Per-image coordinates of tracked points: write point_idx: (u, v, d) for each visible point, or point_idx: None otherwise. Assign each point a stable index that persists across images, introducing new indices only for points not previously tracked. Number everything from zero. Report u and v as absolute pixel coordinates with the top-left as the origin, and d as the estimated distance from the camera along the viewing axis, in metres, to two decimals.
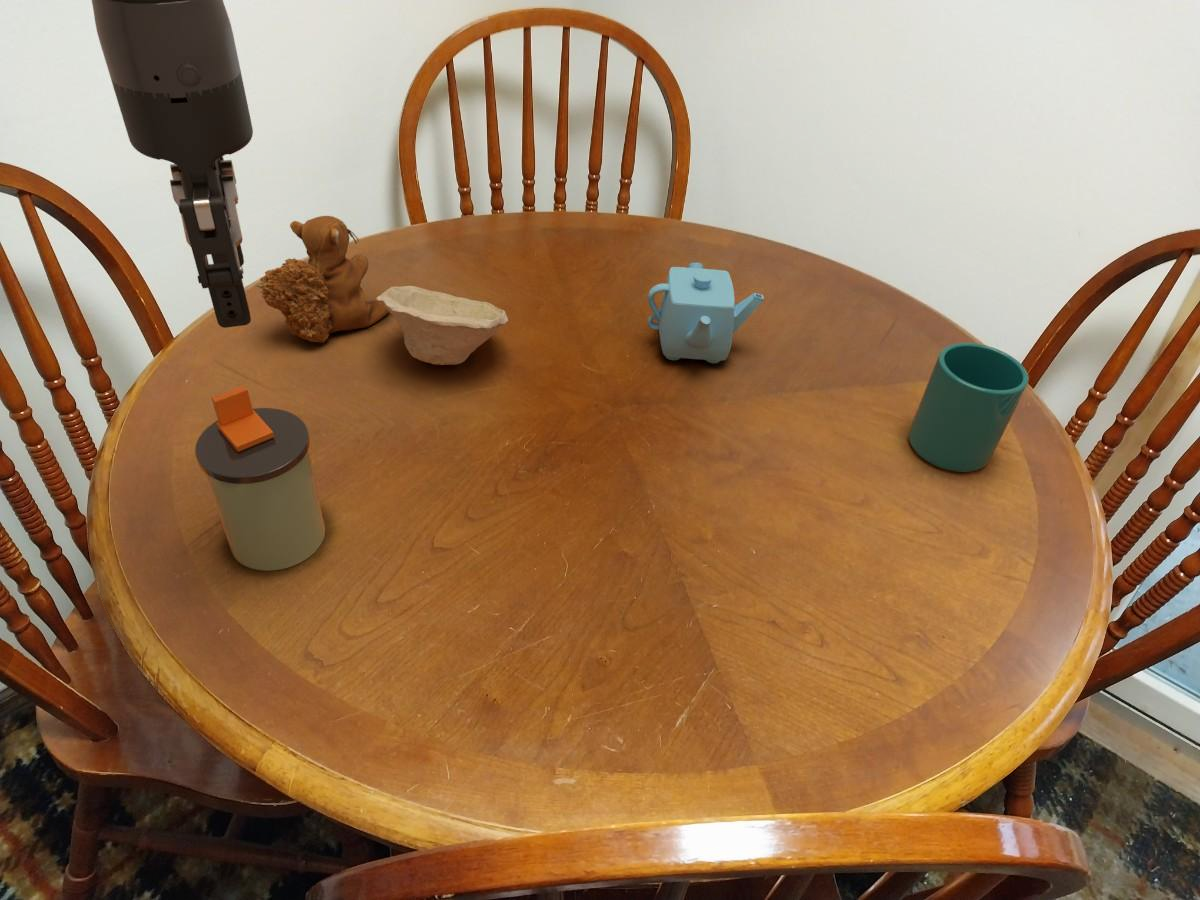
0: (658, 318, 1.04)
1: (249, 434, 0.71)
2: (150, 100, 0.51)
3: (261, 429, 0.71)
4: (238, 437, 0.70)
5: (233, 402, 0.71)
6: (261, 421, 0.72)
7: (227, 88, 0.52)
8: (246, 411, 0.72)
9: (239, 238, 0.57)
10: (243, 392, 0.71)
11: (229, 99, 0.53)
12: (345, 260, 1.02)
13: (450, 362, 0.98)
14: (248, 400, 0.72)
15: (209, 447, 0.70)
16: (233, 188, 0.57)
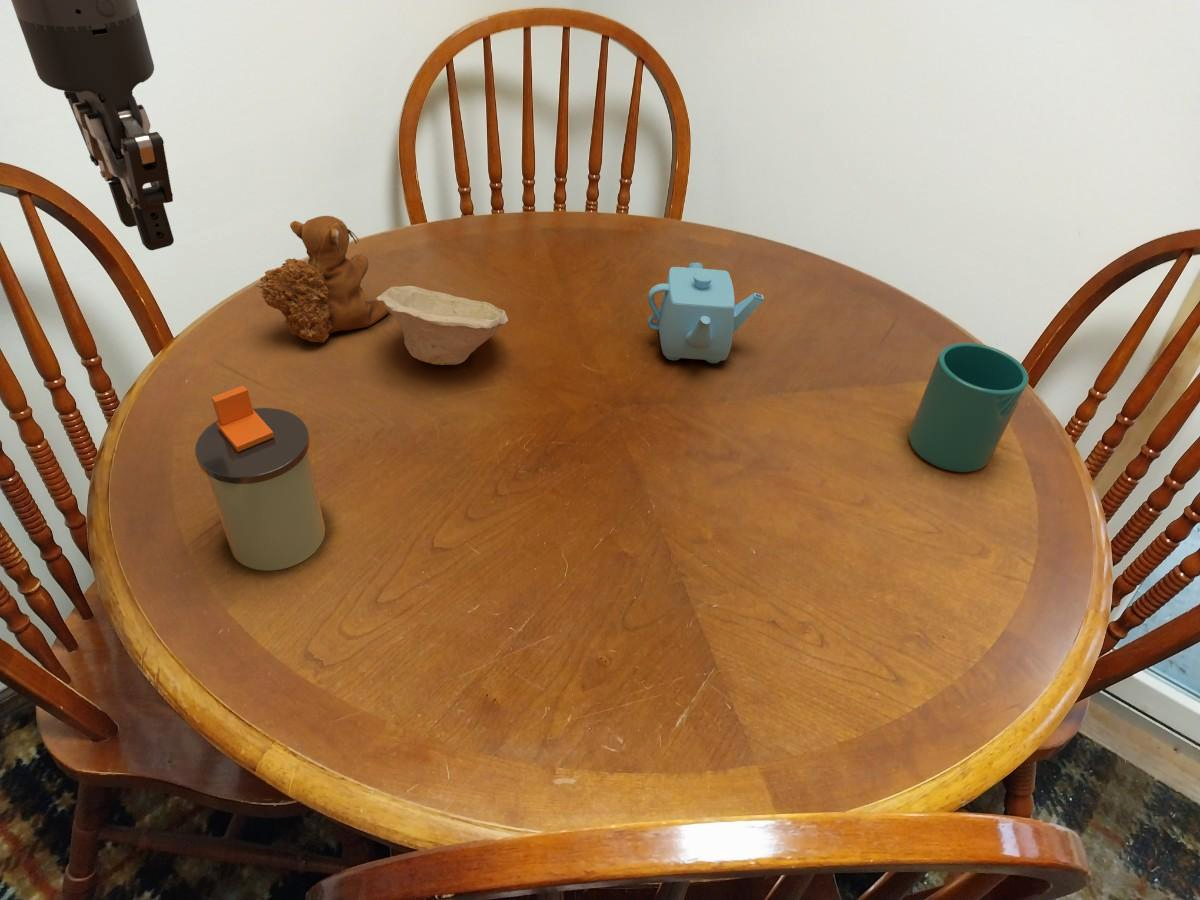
0: (658, 318, 1.04)
1: (249, 434, 0.71)
2: (72, 33, 0.56)
3: (261, 429, 0.71)
4: (238, 437, 0.70)
5: (233, 402, 0.71)
6: (261, 421, 0.72)
7: (135, 19, 0.59)
8: (246, 411, 0.72)
9: None
10: (243, 392, 0.71)
11: (138, 29, 0.59)
12: (345, 260, 1.02)
13: (450, 362, 0.98)
14: (248, 400, 0.72)
15: (209, 447, 0.70)
16: (146, 119, 0.63)
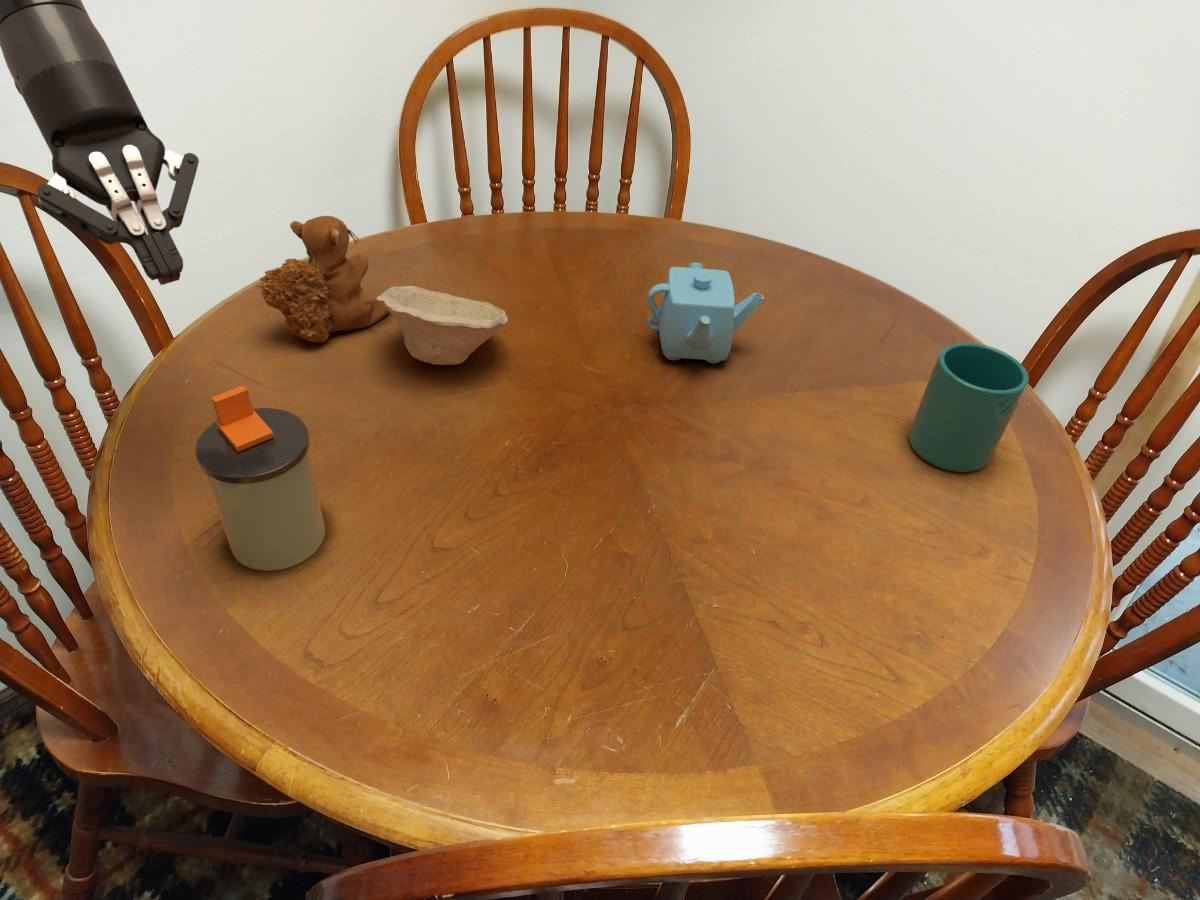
0: (658, 318, 1.04)
1: (249, 434, 0.71)
2: (120, 74, 0.69)
3: (261, 429, 0.71)
4: (238, 437, 0.70)
5: (233, 402, 0.71)
6: (261, 421, 0.72)
7: None
8: (246, 411, 0.72)
9: None
10: (243, 392, 0.71)
11: None
12: (345, 260, 1.02)
13: (450, 362, 0.98)
14: (248, 400, 0.72)
15: (209, 447, 0.70)
16: None
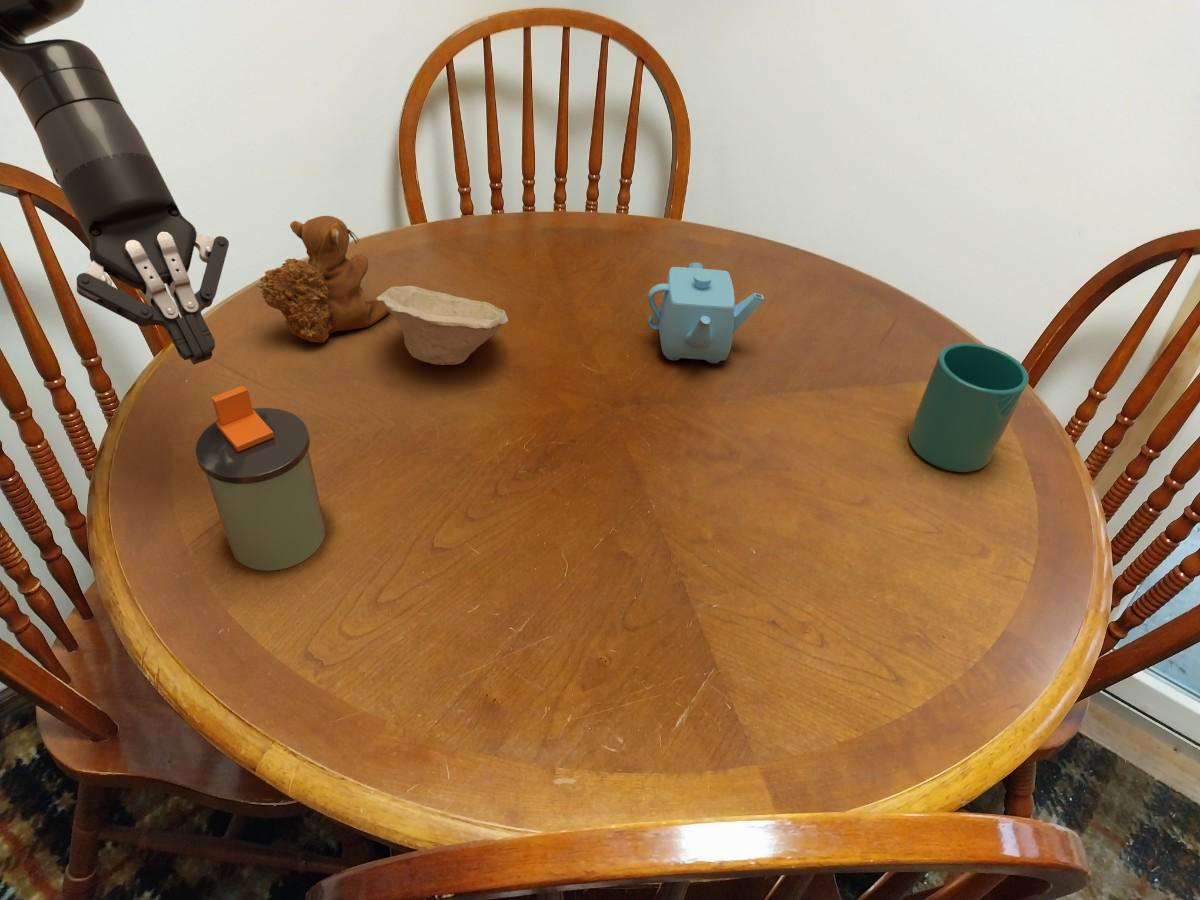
0: (658, 318, 1.04)
1: (249, 434, 0.71)
2: (154, 162, 0.72)
3: (261, 429, 0.71)
4: (238, 437, 0.70)
5: (233, 402, 0.71)
6: (261, 421, 0.72)
7: None
8: (246, 411, 0.72)
9: None
10: (243, 392, 0.71)
11: None
12: (345, 260, 1.02)
13: (450, 362, 0.98)
14: (248, 400, 0.72)
15: (209, 447, 0.70)
16: None
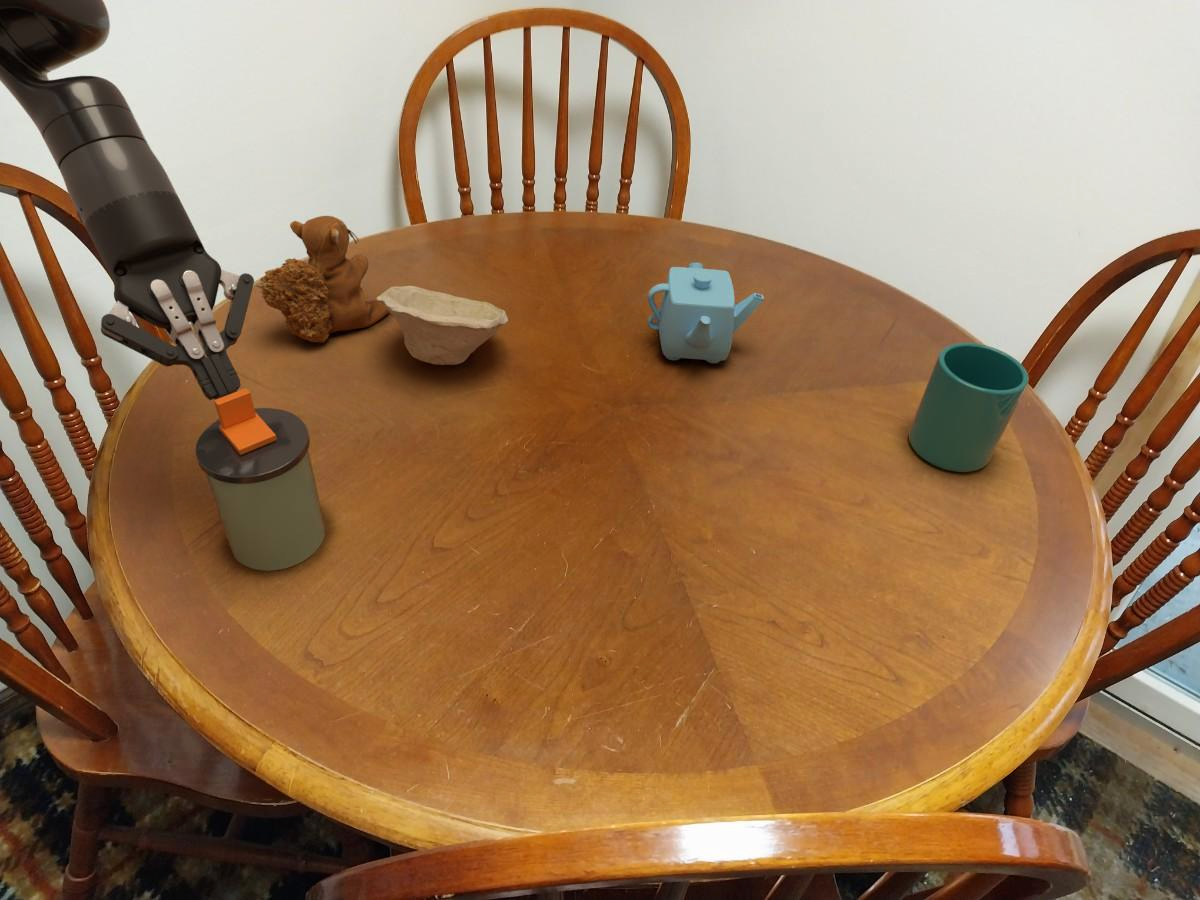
0: (658, 318, 1.04)
1: (252, 437, 0.70)
2: (179, 200, 0.70)
3: (264, 432, 0.71)
4: (241, 440, 0.70)
5: (235, 404, 0.70)
6: (264, 424, 0.72)
7: None
8: (249, 414, 0.72)
9: None
10: (246, 395, 0.71)
11: None
12: (345, 260, 1.02)
13: (450, 362, 0.98)
14: (251, 403, 0.71)
15: (209, 447, 0.70)
16: None
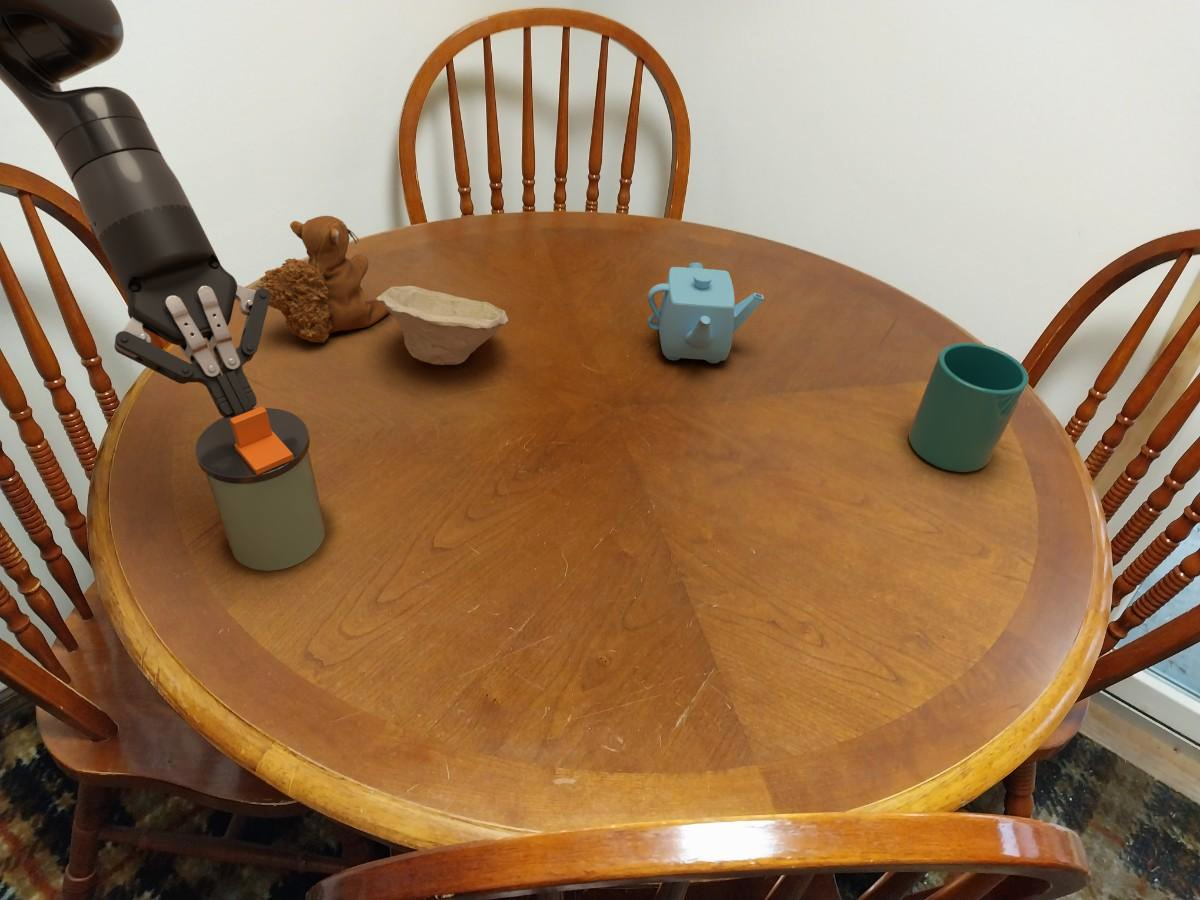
0: (658, 318, 1.04)
1: (268, 456, 0.69)
2: (194, 213, 0.69)
3: (280, 451, 0.69)
4: (257, 459, 0.69)
5: (251, 423, 0.69)
6: (280, 442, 0.70)
7: None
8: (265, 432, 0.70)
9: None
10: (262, 413, 0.69)
11: None
12: (345, 260, 1.02)
13: (450, 362, 0.98)
14: (267, 421, 0.70)
15: (209, 447, 0.70)
16: None
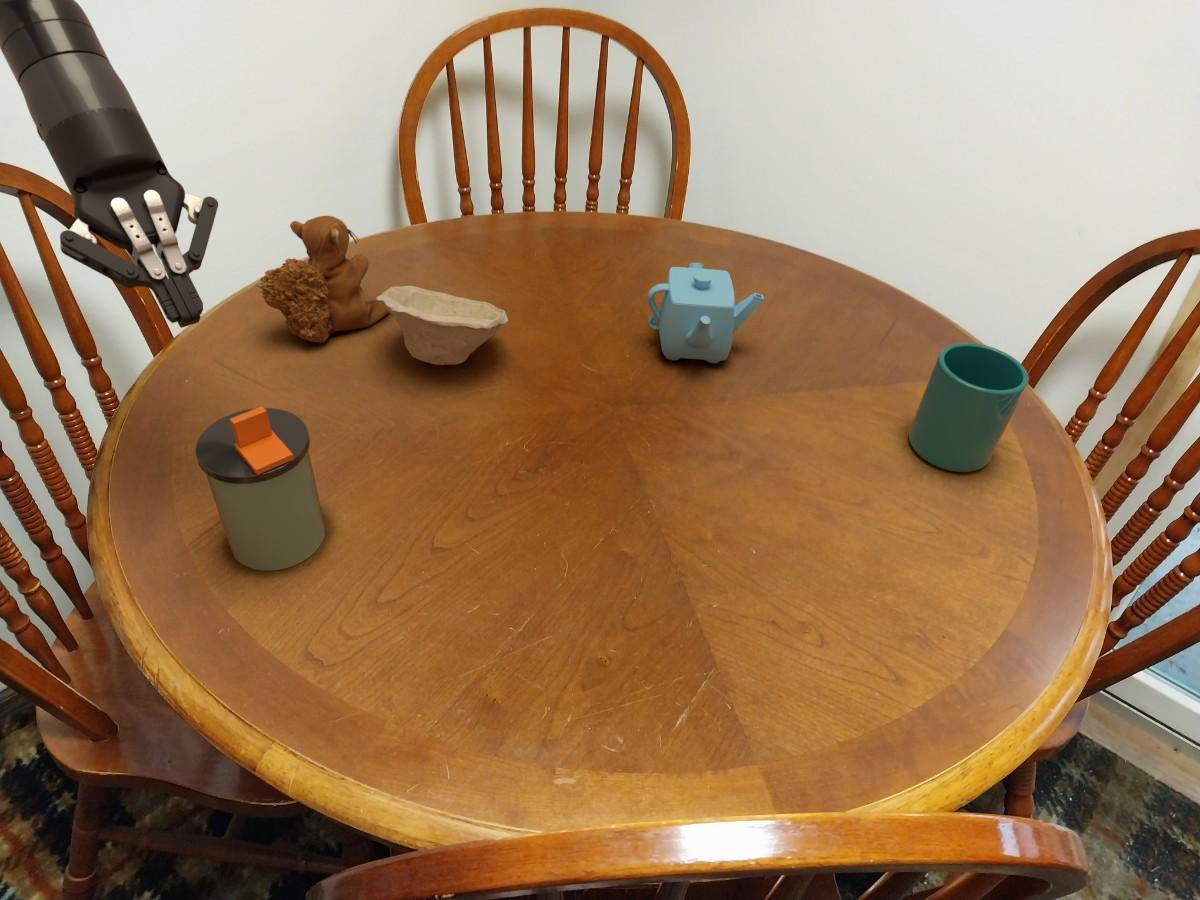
0: (658, 318, 1.04)
1: (268, 456, 0.69)
2: (141, 119, 0.70)
3: (280, 451, 0.69)
4: (257, 459, 0.68)
5: (251, 423, 0.69)
6: (280, 442, 0.70)
7: None
8: (265, 432, 0.70)
9: None
10: (262, 413, 0.69)
11: None
12: (345, 260, 1.02)
13: (450, 362, 0.98)
14: (267, 421, 0.70)
15: (209, 447, 0.70)
16: None
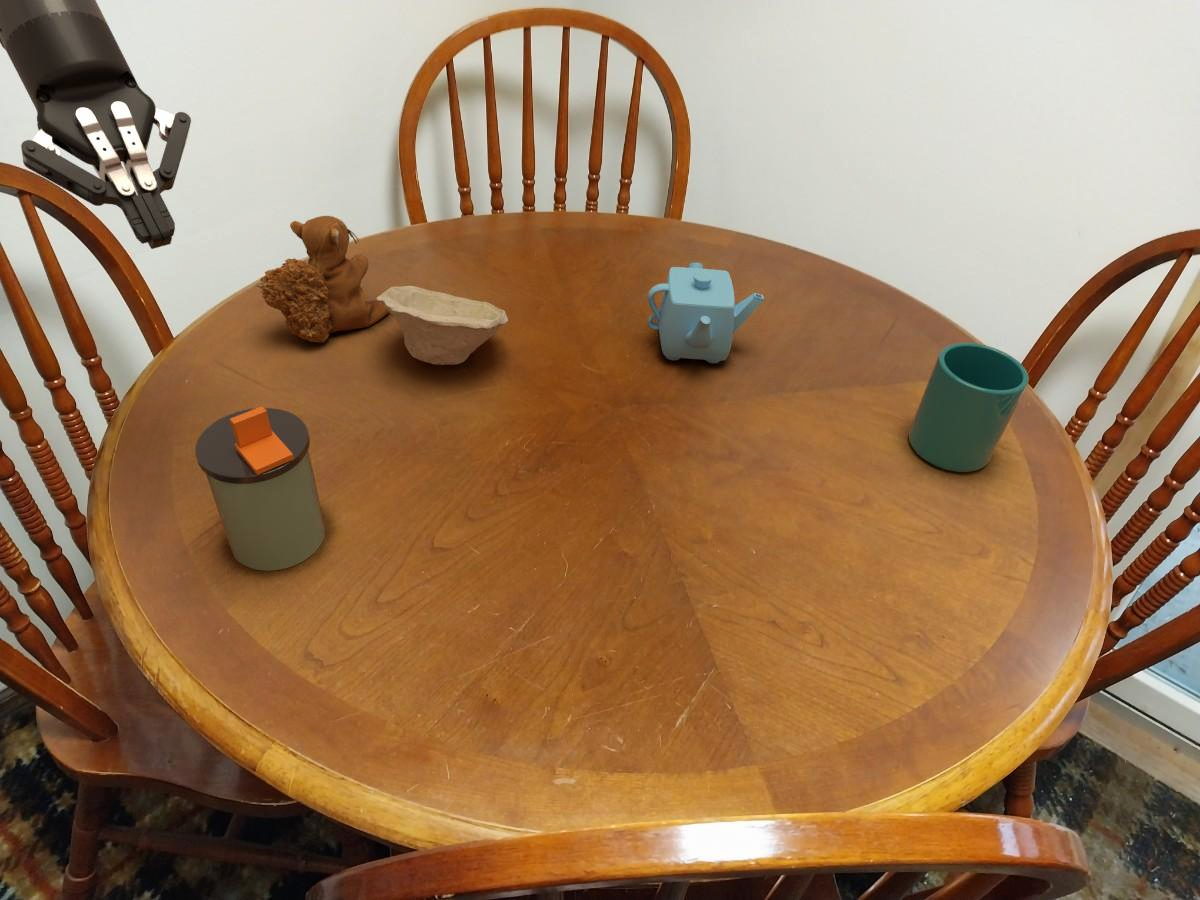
0: (658, 318, 1.04)
1: (268, 456, 0.69)
2: (109, 28, 0.66)
3: (280, 451, 0.69)
4: (257, 459, 0.68)
5: (251, 423, 0.69)
6: (280, 442, 0.70)
7: None
8: (265, 432, 0.70)
9: None
10: (262, 413, 0.69)
11: None
12: (345, 260, 1.02)
13: (450, 362, 0.98)
14: (267, 421, 0.70)
15: (209, 447, 0.70)
16: None
